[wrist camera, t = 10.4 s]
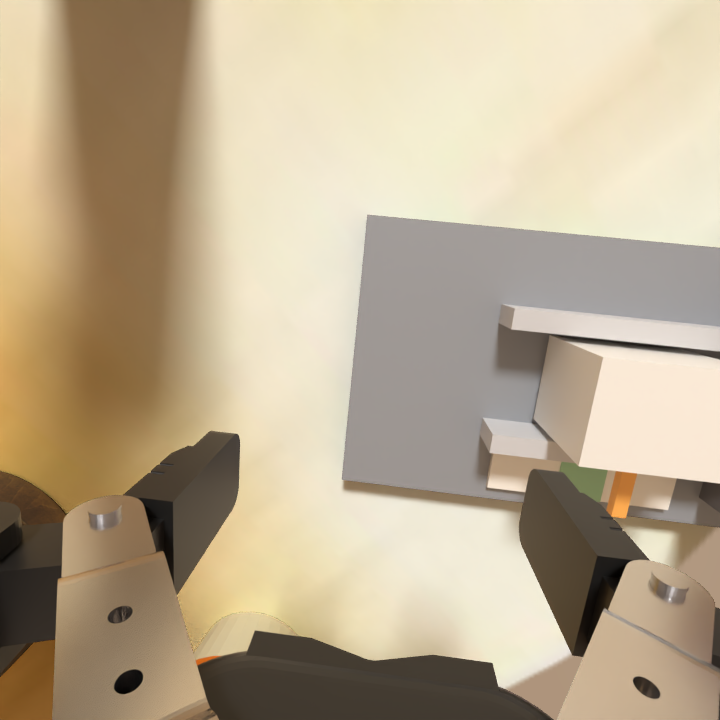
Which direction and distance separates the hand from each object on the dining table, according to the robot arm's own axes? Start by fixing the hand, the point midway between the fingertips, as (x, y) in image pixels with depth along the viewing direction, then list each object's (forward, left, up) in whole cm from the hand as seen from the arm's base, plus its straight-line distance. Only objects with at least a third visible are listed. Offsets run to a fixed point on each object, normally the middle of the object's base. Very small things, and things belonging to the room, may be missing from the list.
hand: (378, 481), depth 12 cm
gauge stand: (0, +12, -18) cm, 22 cm away
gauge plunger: (+2, +14, -17) cm, 22 cm away
